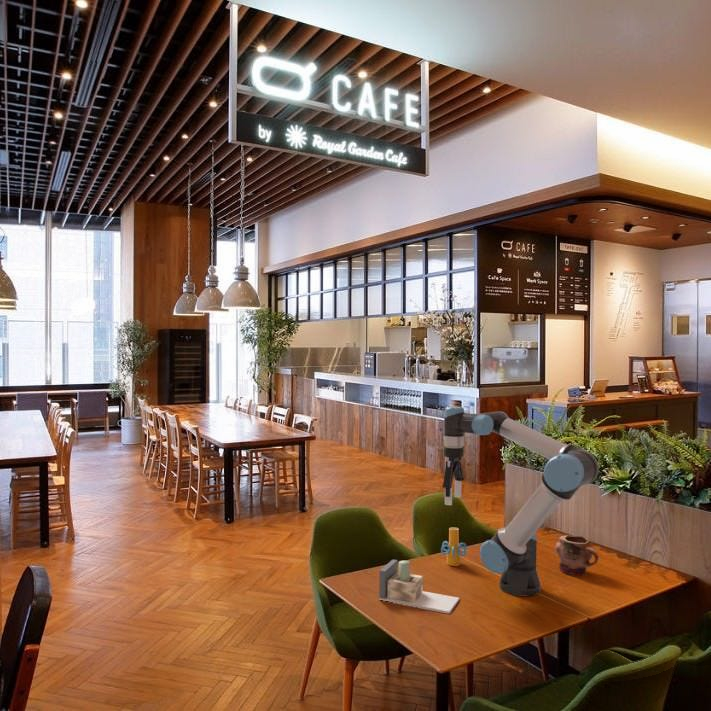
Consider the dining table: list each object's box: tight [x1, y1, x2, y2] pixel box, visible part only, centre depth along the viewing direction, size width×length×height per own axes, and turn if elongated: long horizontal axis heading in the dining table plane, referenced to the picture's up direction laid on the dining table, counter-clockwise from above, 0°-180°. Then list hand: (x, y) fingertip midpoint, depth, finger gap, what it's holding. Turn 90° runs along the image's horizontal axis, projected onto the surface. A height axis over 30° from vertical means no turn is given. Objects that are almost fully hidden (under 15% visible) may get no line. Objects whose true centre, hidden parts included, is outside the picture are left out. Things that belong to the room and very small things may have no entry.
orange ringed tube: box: [440, 527, 467, 567], centre depth 259 cm, size 12×10×15 cm
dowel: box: [398, 560, 411, 582], centre depth 224 cm, size 4×4×12 cm
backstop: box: [378, 559, 460, 615], centre depth 221 cm, size 26×13×11 cm, turn 65°
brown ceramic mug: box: [554, 534, 599, 577], centre depth 250 cm, size 20×12×14 cm, turn 38°
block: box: [387, 571, 424, 602], centre depth 224 cm, size 10×10×6 cm
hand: (453, 501), depth 239 cm, fingers open, 13 cm apart
